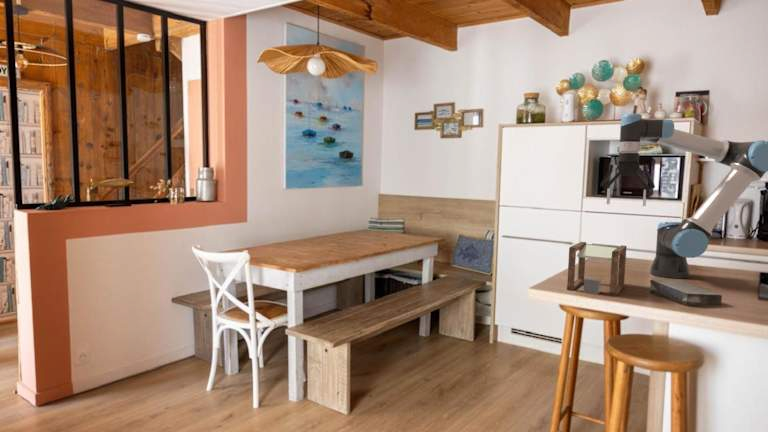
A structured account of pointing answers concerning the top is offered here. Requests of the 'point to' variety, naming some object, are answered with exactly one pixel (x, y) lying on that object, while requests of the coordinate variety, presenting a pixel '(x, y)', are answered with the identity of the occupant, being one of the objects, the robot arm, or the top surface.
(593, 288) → the grey cube
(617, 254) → the walnut frame
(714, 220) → the robot arm
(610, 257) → the hatch
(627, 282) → the top surface
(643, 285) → the top surface
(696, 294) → the block
